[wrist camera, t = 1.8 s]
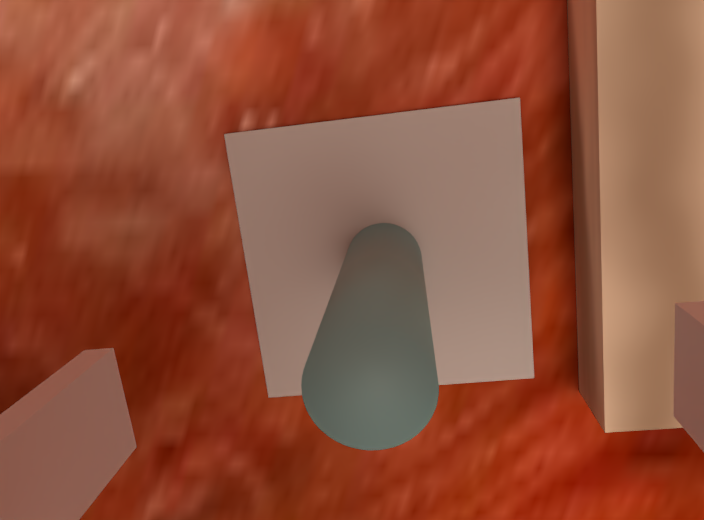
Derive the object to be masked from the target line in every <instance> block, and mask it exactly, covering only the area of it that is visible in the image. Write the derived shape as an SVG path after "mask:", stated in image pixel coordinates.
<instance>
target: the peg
mask: <svg viewBox="0 0 704 520" xmlns="http://www.w3.org/2000/svg"><path fill="white" fill-rule="evenodd" d="M301 389H302V397H303V401H304V404H305V407H306V410H307V412H308V413H309V415H310V417H311V419H312V420H313V421H314V423H315V424H316V425H317V426H318V427H319V428H320V429H321V430H322V431H323V432H324V433H325V434H326V435H327V436H329V437H330V438H332V439H334V440H335V441H337V442H339V443H341V444H343V445H346V446H349V447H352V448H356V449H362V450H382V449H388V448H392V447H395V446H398V445H401V444H403V443H405V442H407V441H409V440H410V439H412V438H413V437H415V436H416V435H417V434H418V433H419V432H420V431H422V430H423V428H424V427H425V426H426V425H427V424H428V422H429V421H430V419H431V417H432V415H433V413H434V411H435V409H436V405H437V401H438V394H439V384H438V376H437V369H436V361H435V353H434V346H433V338H432V331H431V323H430V316H429V308H428V301H427V293H426V286H425V278H424V271H423V263H422V256H421V251H420V247H419V245H418V243H417V241H416V240H415V238H414V237H413V236H412V235H411V234H410V233H409V232H408V231H407V230H405V229H404V228H402V227H400V226H397V225H395V224H390V223H378V224H374V225H370V226H368V227H366V228H364V229H363V230H361V231H360V232H359V233H358V234H357V235H356V236H355V237H354V238H353V240H352V241H351V243H350V245H349V248H348V251H347V253H346V256H345V259H344V261H343V264H342V267H341V270H340V272H339V275H338V278H337V280H336V283H335V286H334V288H333V291H332V294H331V296H330V299H329V302H328V305H327V307H326V310H325V313H324V315H323V318H322V321H321V323H320V326H319V329H318V331H317V334H316V337H315V340H314V342H313V345H312V348H311V350H310V353H309V356H308V358H307V361H306V364H305V367H304V369H303V374H302V381H301Z"/></svg>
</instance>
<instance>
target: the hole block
mask: <svg viewBox="0 0 704 520" xmlns="http://www.w3.org/2000/svg"><path fill="white" fill-rule="evenodd" d="M567 20H568V52H569V84H570V116H571V148H572V180H573V212H574V244H575V276H576V308H577V340H578V372H579V392H580V393H581V395H582V397H583V398H584V400H585V401H586V403H587V405H588V406H589V408H590V409H591V411H592V413H593V414H594V416H595V418H596V419H597V421H598V422H599V424H600V426H601V427H602V429H603V430H604V432H605V433H607V432H623V431H639V430H654V429H670V428H683V427H682V425H681V424H680V423H679V422H678V421H677V420H676V418H675V417H674V416H673V415H674V339H675V303H683V302H696V301H704V0H567Z"/></svg>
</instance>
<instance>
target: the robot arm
mask: <svg viewBox="0 0 704 520" xmlns="http://www.w3.org/2000/svg"><path fill="white" fill-rule="evenodd" d="M673 416H674V417H675V418H676V420H677V421H678V422H679V423H680V424H681V425H682V427H683V428H684V429H685V430H686V431H687V433H688V434H689V435H690V436H691V437H692V439H693V440H694V441H695V442H696V443H697V445H698V446H699V447H700V448H701V449H702V451H703V452H704V301H696V302H683V303H675V339H674V415H673ZM136 447H137V446H136V441H135V437H134V433H133V429H132V424H131V420H130V416H129V412H128V407H127V403H126V399H125V395H124V391H123V386H122V382H121V378H120V374H119V369H118V365H117V361H116V357H115V352H114V348H105V349H93V350H84V351H83V352H81V353H80V354H79V355H77V356H76V357H75V358H74V359H72V360H71V361H70V362H68V363H67V364H66V365H64V366H63V367H62V368H60V369H59V370H58V371H57V372H55V373H54V374H53V375H51V376H50V377H49V378H47V379H46V380H45V381H43V382H42V383H41V384H40V385H38V386H37V387H36V388H34V389H33V390H32V391H30V392H29V393H28V394H26V395H25V396H24V397H23V398H21V399H20V400H19V401H17V402H16V403H15V404H13V405H12V406H11V407H9V408H8V409H7V410H6V411H4V412H3V413H2V414H0V520H79V519H80V518H81V517H82V516H83V514H84V513H85V512H86V511H87V509H88V508H89V507H90V505H91V504H92V503H93V502H94V500H95V499H96V498H97V497H98V495H99V494H100V493H101V492H102V490H103V489H104V488H105V486H106V485H107V484H108V483H109V481H110V480H111V479H112V478H113V476H114V475H115V474H116V473H117V471H118V470H119V469H120V468H121V466H122V465H123V464H124V462H125V461H126V460H127V459H128V457H129V456H130V455H131V454H132V452H133V451H134V450H135V449H136Z"/></svg>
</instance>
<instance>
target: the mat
mask: <svg viewBox="0 0 704 520" xmlns="http://www.w3.org/2000/svg"><path fill="white" fill-rule="evenodd" d="M224 137H225V143H226V149H227V155H228V161H229V167H230V173H231V178H232V184H233V190H234V196H235V202H236V208H237V214H238V220H239V226H240V232H241V237H242V243H243V249H244V255H245V261H246V267H247V273H248V279H249V285H250V291H251V297H252V302H253V308H254V314H255V320H256V326H257V332H258V338H259V344H260V350H261V356H262V361H263V367H264V373H265V379H266V385H267V391H268V397H269V398H270V397H284V396H297V395H302V389H301V381H302V374H303V369H304V367H305V364H306V361H307V358H308V356H309V353H310V350H311V348H312V345H313V342H314V340H315V337H316V334H317V331H318V329H319V326H320V323H321V321H322V318H323V315H324V313H325V310H326V307H327V305H328V302H329V299H330V296H331V294H332V291H333V288H334V286H335V283H336V280H337V278H338V275H339V272H340V270H341V267H342V264H343V261H344V259H345V256H346V253H347V251H348V248H349V245H350V243H351V241H352V240H353V238H354V237H355V236H356V235H357V234H358V233H359V232H360V231H361V230H363V229H364V228H366V227H368V226H370V225H374V224H378V223H390V224H395V225H397V226H400V227H402V228H404V229H405V230H407V231H408V232H409V233H410V234H411V235H412V236H413V237H414V238H415V240H416V241H417V243H418V245H419V247H420V251H421V256H422V263H423V271H424V278H425V286H426V293H427V301H428V308H429V316H430V323H431V331H432V338H433V346H434V353H435V361H436V369H437V376H438V384H439V385H446V384H460V383H473V382H487V381H500V380H514V379H527V378H534V363H533V343H532V324H531V304H530V284H529V265H528V245H527V225H526V206H525V186H524V166H523V147H522V127H521V107H520V98H512V99H504V100H495V101H487V102H479V103H471V104H463V105H455V106H447V107H439V108H431V109H423V110H414V111H406V112H398V113H390V114H382V115H374V116H366V117H358V118H350V119H341V120H333V121H325V122H317V123H309V124H301V125H293V126H285V127H277V128H269V129H260V130H252V131H244V132H236V133H228V134H224Z"/></svg>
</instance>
